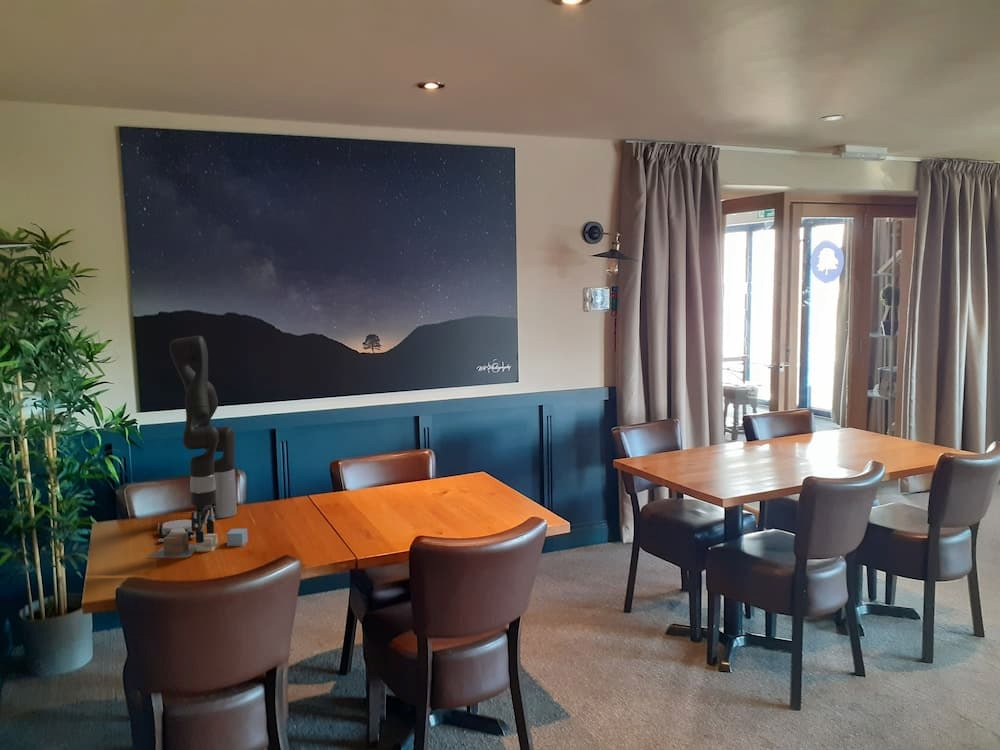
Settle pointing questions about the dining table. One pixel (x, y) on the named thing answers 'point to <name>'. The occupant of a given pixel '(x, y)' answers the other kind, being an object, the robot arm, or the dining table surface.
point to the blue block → (237, 537)
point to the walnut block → (175, 543)
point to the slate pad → (184, 555)
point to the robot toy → (176, 528)
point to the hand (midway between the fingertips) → (205, 538)
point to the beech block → (208, 543)
